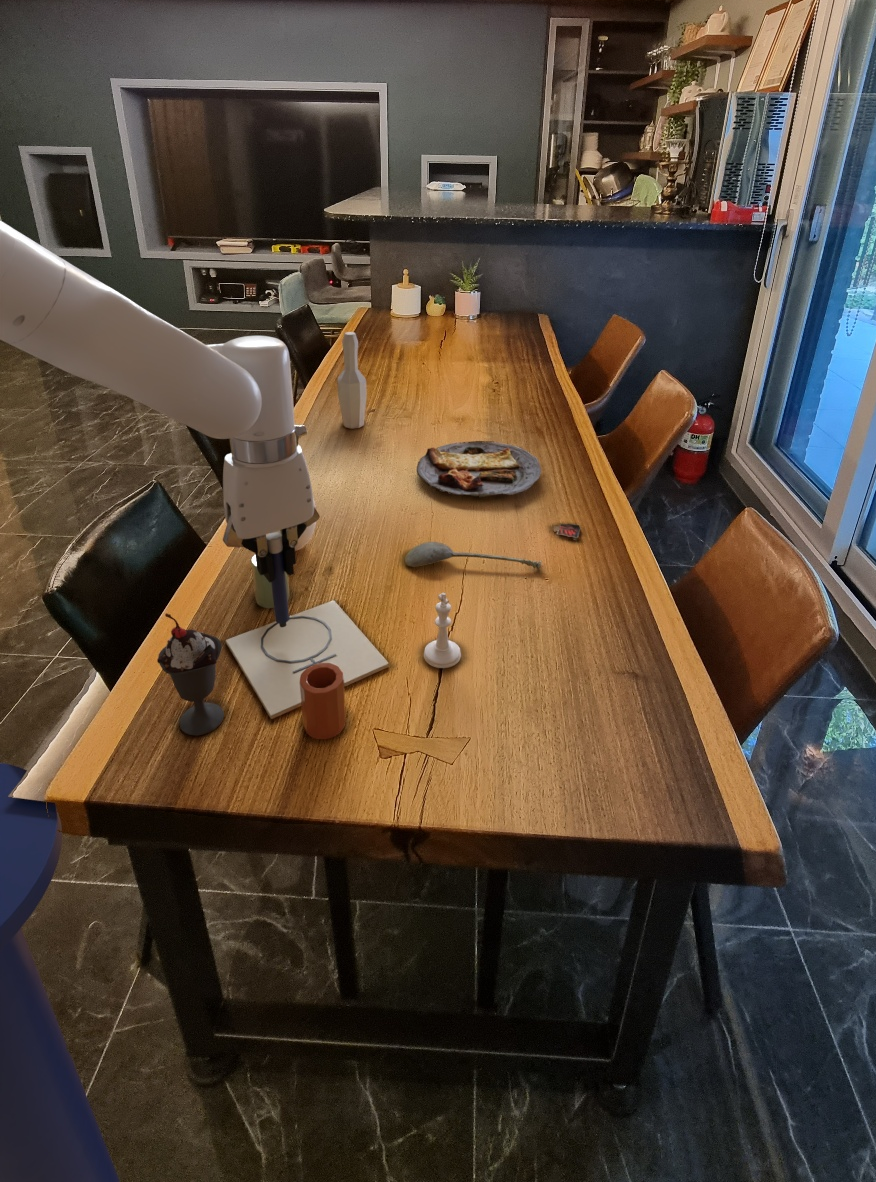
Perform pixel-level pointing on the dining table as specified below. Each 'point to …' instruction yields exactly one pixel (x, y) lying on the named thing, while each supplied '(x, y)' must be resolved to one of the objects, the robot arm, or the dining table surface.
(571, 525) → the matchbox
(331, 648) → the sketch pad
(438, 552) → the soupspoon
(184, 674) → the sundae
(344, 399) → the low poly bottle
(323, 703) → the pen pot
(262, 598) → the pen cup
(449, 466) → the food plate
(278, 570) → the marker
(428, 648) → the chess piece
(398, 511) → the dining table surface
